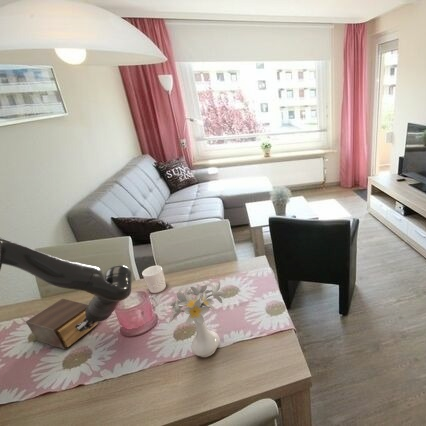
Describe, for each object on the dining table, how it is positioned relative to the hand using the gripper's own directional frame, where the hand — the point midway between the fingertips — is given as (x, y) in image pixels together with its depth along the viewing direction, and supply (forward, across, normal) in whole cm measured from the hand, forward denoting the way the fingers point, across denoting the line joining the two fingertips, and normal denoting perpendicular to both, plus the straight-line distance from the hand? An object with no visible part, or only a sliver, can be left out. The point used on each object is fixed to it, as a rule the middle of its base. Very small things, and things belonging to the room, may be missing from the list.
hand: (89, 325), depth 105 cm
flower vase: (-25, -8, +36) cm, 44 cm away
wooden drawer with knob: (+13, 0, -4) cm, 14 cm away
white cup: (+6, -30, +5) cm, 31 cm away
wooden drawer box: (+15, 0, -5) cm, 16 cm away
